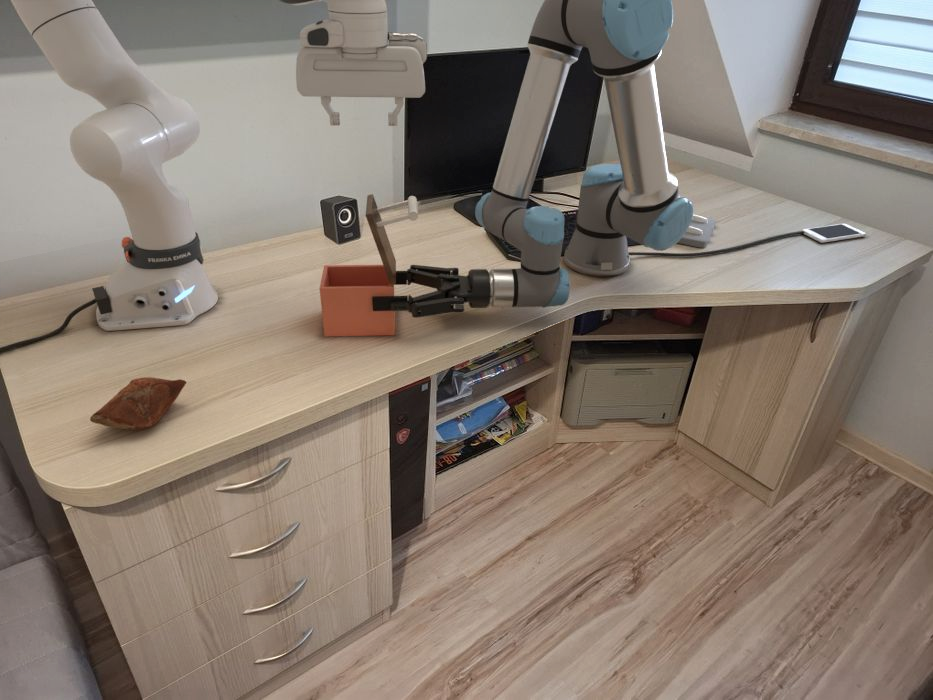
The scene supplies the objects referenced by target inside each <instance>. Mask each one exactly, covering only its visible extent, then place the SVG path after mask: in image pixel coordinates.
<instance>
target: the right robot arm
mask: <svg viewBox="0 0 933 700" xmlns="http://www.w3.org/2000/svg"><path fill="white" fill-rule="evenodd" d="M673 22H674V6H673V1H672V0H544V1H543V3H542V4H541V6H540V8H539V10H538V12H537V14H536V17H535V19H534V22H533V25H532V28H531V31H530V33H529V38H528V41H527V45H526V46H527V48H528V50H529V58H528V60H527V65H526V68H525V73H524V75H523V79H522V82H521V85H520V89H519V93H518V97H517V100H516V104H515V107H514V111H513V114H512V117H511V122H510V126H509V129H508V132H507V136H506V138H505V143H504V146H503V149H502V153H501V156H500V159H499V164H498V167H497V171H496V175H495V177H494V182H493V184H492V189H491V192H487V193H485V194H484V195H482V196H481V198H480V199H479V201H478V202H476V206H475V209H474V213H475V214H474V215H475V218H476V222H477V223H478V224H479V225H480V226H481V227H482V228H484V230H486V231H487V232H488V233H490V234H492V235H494V236H496V237H498V238H499V239H501V240H503V241H504V242H506V243H507V244H509V245H510V246H512V247H514V248H515V249H516V250H518V251H520V267H519V268H491V269H490V270H489V271H488V270H487V269H486V268H484V269H483V268H479V269H477V268H476V269H475V268H474V269H469V271H468V272H467V275H466V276H465V275H461V274H460V273H459V267H440V266H430V265H420V264H411V265H410V266H409V268H407V269H406V270H396V284H394V286H403V285H404V286H405V285H407V286H410V285H411V284H416V285H419V286H424V287H428V288H432V289H436V290H434V291H431V292H428V293H424V294H420V295H417V296H414V297H413V296H412V295H411V294H409V295H394V296H372V303H373V311H395V312H397V311H398V312H403V311H405V312H408V313H410V314H411V316H412V318H414V319H418V318H424V317H429V316H436V315H442V314H448V313H464V311H465V303H468V306H469V307H470V309H487V308H488V307H489V306H490V307H491V308H500V309H504V308H540V307H541V308H549V307H550V308H551V307H558V306H563V305H565V304H566V303H567V301H568V299H569V296H570V285H571V283H570V281H571V280H570V275H569V271H568V270H567V269H565V268H564V267H560V265H561V257H562V250H563V244H564V239H565V220H566V219H565V215H564V213H563V212H562V211H561V210H560V209H558V208H555V207H549V206H546V205H538V206H537V205H536V206H532V207H530V208H527V206H528V203H529V200H530V195H531V192H532V189H533V186H534V183H535V179H536V176H537V173H538V171H539V170H538V169H539V166H540V163H541V160H542V157H543V153H544V150H545V148H546V144H547V141H548V139H549V135H550V131H551V128H552V125H553V122H554V119H555V116H556V113H557V109H558V106H559V103H560V99H561V97H562V93H563V89H564V87H565V83H566V80H567V77H568V74H569V71H570V68H571V66H572V64H575V63H576V62H577V61H579V57H580V54H581V51H582V49H583V48H586V49H588V52H589V57H590V62H591V68H592V71H593V73H594V74H595V75H597V76H599V77H601V78H603V80H604V81H603V82H604V87H605V90H606V91H605V92H606V95H607V101H608V108H609V112H610V118H611V122H612V128H613V133H614V137H615V144H616V148H617V149H616V150H617V153H618V159H619V163H601V164H596V165H592V166H589V167H588V168H586V169H585V170H584V172H583V175H582V180H581V184H580V190H579V199H578V207H577V215H576V223H575V224H576V225H575V230H574V232H573V233H572V236H571V239H570V241H569V244H568V245H567V246H566V248H565V251H564V255H563V262H564V263H565V265H566V266H567V267H568V268H570V269H571V270H572V271H575V272H576V273H579V274H582V275H586V276H591V277H601V278H602V277H607V278H608V277H615V276H618V275H621V274H623V273H625V272H626V271H627V270H628V269H629V265H630V259H631V258H630V256H656V257H657V256H659V257H697V256H706V255H713V254H720V253H724V252H725V253H726V252H729V251H735V250H739V249H743V248H747V247H750V246H754V245H757V244H758V245H759V244H761V243H766V242H769V241H771V240H776V239H779V238H780V239H781V238H784V237H789V236H796V235H802V234H803V233H804V231H802V230H799V231H793V232H787V233H782V234H778V235H774V236H770V237H765V238H763V239H759V240H755V241H752V242H748V243H744V244H740V245H735V246H732V247H731V246H730V247H727V248H722V249H716V250H715V249H714V250H709V251H702V252H690V253H689V252H685V253H684V252H683V253H682V252H679V253H677V252H675V253H673V252H662V251H666V250H669V249H671V248H672V247H674V246H675V245H676V244H678V243H677V242H678V241H679V240H680V239H681V238H682V237H683V235H684V234H685V233H686V231H687V229H688V228H689V226H690V223H691V221H692V217H693V215H694V205H693V202H691V201H690V200H689V199H688V198H687V197H682V196H681V195H680V191H679V183H678V179H677V177H676V176H675V174H673V173H672V172H670V171H669V168H668V160H667V153H666V146H665V139H664V137H665V136H664V130H663V123H662V115H661V108H660V100H659V92H658V85H657V78H656V77H657V76H656V69H655V63H656V62H657V61H658V60H659V58H660V57H661V55H662V51H663V50H662V49H663V48H664V46H665V45H666V43H667V41H668V40H669V37H670V32H669V29H671V28H672V27H673ZM803 235H804V234H803ZM627 238H628V239H631V240H632V241H634V242H636V243H638V244H639V245H642V246H643V247H645V248H649V249H652V250H654V251H657V252H648V251H647V252H644V251H643V252H639V251H636V252H635V251H629V245H628V240H627Z"/></svg>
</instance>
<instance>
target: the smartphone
mask: <svg viewBox="0 0 933 700" xmlns="http://www.w3.org/2000/svg"><path fill="white" fill-rule="evenodd" d="M801 231H804V233H803V235H805V236H807V237H808V238H811V239H813V240H815V241H816V242H819V243H820V244H821V243H823V244H824V243H829V242H835V241H842V240H849V239H855V238H861V237H865V236H866V232H864V231H863V230H860V229H858V228H856V227H853V226H851V225H849V224H847V223H837V224H831V225H824V226H823V225H822V226H818V227H817V226H816V227H810V228H803V229H801Z"/></svg>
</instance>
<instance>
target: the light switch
mask: <svg viewBox="0 0 933 700" xmlns="http://www.w3.org/2000/svg"><path fill="white" fill-rule="evenodd" d="M715 225H716V219H715V218H712V217H707V216H702V215H697V214H693V217H692V221H691V223H690V226H689V228H688V229H687V231H686V233H685V234H684V235H683V237H682V238H681V239H680V240H679V241H678V242H677V243H676V244H679V245H680V244H681V245H685V246H691V247H695V248H699V249H700V248H702V249H704V248H706V247H707V246H708V243H709V240H710V238H711V237H712V233H713V230H714V229H715Z"/></svg>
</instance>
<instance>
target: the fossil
mask: <svg viewBox="0 0 933 700" xmlns="http://www.w3.org/2000/svg"><path fill="white" fill-rule="evenodd" d="M187 382H188V381H186V380H185V379H179V378H178V379H174V380H173V379H164V378H158V377H150V376H147V377H145V376H144V377H139V378H134V379H131V380H130V381H129V383H128V384H127V385H126V386H124V387H123V388H122V389H120V390H119V391H118V392H117V393H116V394H115V395H114V396H113V397H112V398H111V399H110V400H108V401H107V403H105V404H104V405H103V406H102V407H101V408H99V409H98V410H97V411H95V412H94V413H93V414H92V415H91V416H90V418H89V421H90V422H92V423H94V424H97V425H101V426H104V427H110V428H115V429H124V430H130V431H131V430H145V429H148V428H150V427H152V426H154V425H156V424H157V423H158V422H159V421H160V420H161V418H162V417H163V416H164V415H165V414H166V413H167V412H168V410H169V409H170V408H171V407H172V405H173V404H174V402H175V401H176V400H177V398H178V397H179V395H180V393H181V392H182V391H183V389H184V387H185V386H186V384H187Z"/></svg>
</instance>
